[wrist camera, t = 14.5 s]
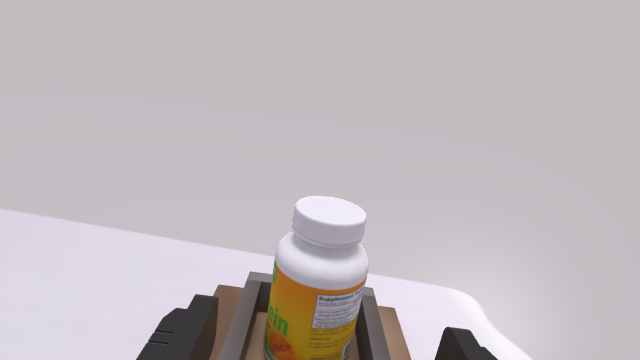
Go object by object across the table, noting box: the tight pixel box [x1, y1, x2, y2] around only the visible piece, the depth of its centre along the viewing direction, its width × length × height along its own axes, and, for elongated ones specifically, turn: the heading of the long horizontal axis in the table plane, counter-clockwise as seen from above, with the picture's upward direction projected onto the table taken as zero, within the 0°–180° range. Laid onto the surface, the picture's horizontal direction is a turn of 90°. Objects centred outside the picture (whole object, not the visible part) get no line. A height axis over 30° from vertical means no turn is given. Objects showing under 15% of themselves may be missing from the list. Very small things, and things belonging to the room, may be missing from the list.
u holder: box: [209, 272, 411, 360], centre depth 20 cm, size 14×13×4 cm
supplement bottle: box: [263, 196, 369, 360], centre depth 20 cm, size 5×5×10 cm
